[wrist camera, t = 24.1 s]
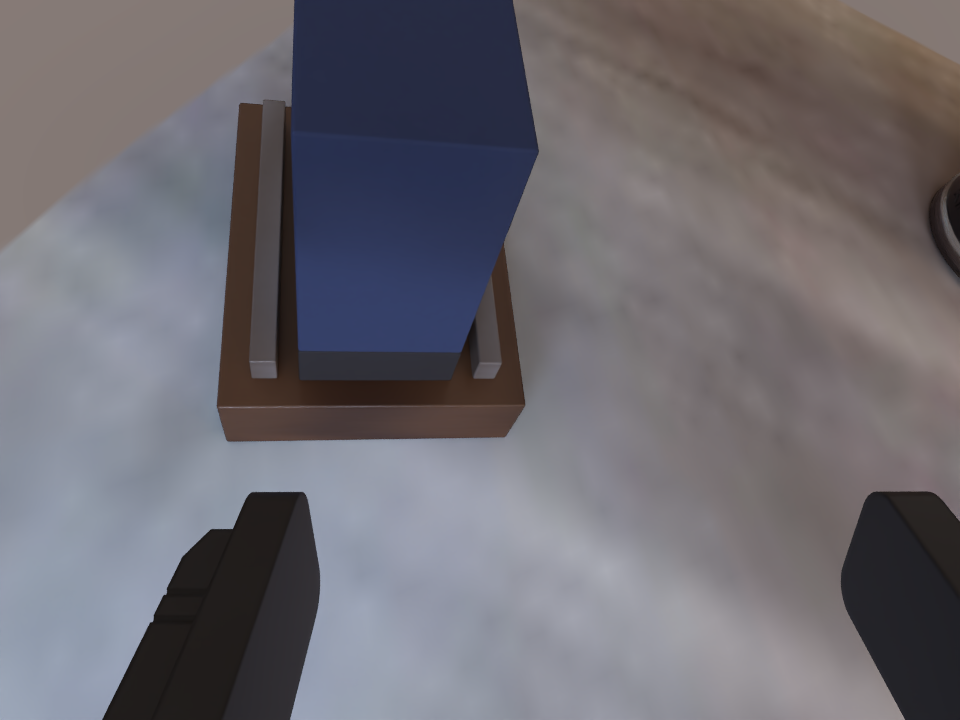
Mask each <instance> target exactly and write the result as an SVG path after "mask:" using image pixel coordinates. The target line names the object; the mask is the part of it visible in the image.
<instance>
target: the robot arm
mask: <svg viewBox="0 0 960 720" xmlns="http://www.w3.org/2000/svg"><path fill="white" fill-rule="evenodd" d="M930 224H931V228H932V232H933V235H934V238H935V241H936V243H937V246H938V247H939V249H940V251H941V253H942V255H943V257H944V258H945V260H946V261H947V263H948V264H949V265H950V267H951V268H952V269H953V271H954V272H955V273H956V274H957V276H958V277H959V278H960V173H958V174H957V175H956V176H954V177H953V178H952V179H951V180H950V181H949V182H948V183H946V184H945V185H944V186H943V187H942V188H941V189H940V190H939V191H938V192H937V193H936V195H935V196H934V198H933V200H932V204H931V208H930ZM841 590H842V596H843V600H844V604H845V607H846V610H847V612H848V614H849V616H850V618H851V620H852V622H853V624H854V625H855V627H856V629H857V631H858V633H859V635H860V637H861V638H862V640H863V642H864V644H865V646H866V648H867V650H868V651H869V653H870V655H871V657H872V659H873V661H874V663H875V664H876V666H877V668H878V670H879V672H880V674H881V676H882V677H883V679H884V681H885V683H886V685H887V687H888V689H889V690H890V692H891V694H892V696H893V698H894V700H895V702H896V703H897V705H898V707H899V709H900V711H901V713H902V715H903V716H904V718H905V720H960V521H959V520H958V519H957V518H956V516H955V515H954V514H953V513H952V512H951V510H950V509H949V508H948V507H947V505H946V504H945V503H944V502H943V501H942V500H941V498H940V497H938V496H937V495H936V494H934V493H932V492H873V493H871V494H870V495H869V496H868V497H867V498H866V500H865V502H864V505H863V508H862V511H861V514H860V517H859V520H858V523H857V526H856V529H855V532H854V535H853V538H852V541H851V544H850V547H849V549H848V552H847V555H846V558H845V561H844V564H843V568H842V573H841ZM319 594H320V570H319V563H318V557H317V551H316V545H315V539H314V534H313V528H312V522H311V516H310V510H309V504H308V500H307V497H306V495H305V493H303V492H252V493H250V494H249V495H248V496H247V498H246V500H245V502H244V504H243V507H242V509H241V511H240V514H239V516H238V518H237V521H236V523H235V525H234V528H233V529H211V530H210V531H209V532H208V533H207V534H206V535H204V536H203V537H202V538H201V539H200V540H199V541H198V542H197V543H196V544H195V545H194V546H193V547H192V548H191V549H190V550H189V551H188V552H187V553H186V554H185V555H184V556H183V557H182V559H181V561H180V563H179V565H178V567H177V569H176V571H175V573H174V575H173V577H172V579H171V581H170V583H169V585H168V587H167V594H166V595H164V596H163V598H162V600H161V602H160V604H159V606H158V608H157V610H156V612H155V614H154V620H153V622H150V624H149V626H148V628H147V630H146V632H145V634H144V636H143V638H142V640H141V642H140V644H139V646H138V648H137V650H136V652H135V654H134V656H133V658H132V660H131V662H130V664H129V666H128V669H127V671H126V673H125V675H124V677H123V679H122V681H121V683H120V685H119V687H118V689H117V691H116V693H115V695H114V697H113V699H112V701H111V703H110V705H109V707H108V709H107V711H106V713H105V715H104V717H103V719H102V720H290V717H291V713H292V709H293V705H294V701H295V697H296V693H297V689H298V686H299V682H300V678H301V674H302V670H303V666H304V662H305V658H306V654H307V650H308V646H309V642H310V638H311V634H312V630H313V626H314V622H315V618H316V614H317V609H318V603H319Z"/></svg>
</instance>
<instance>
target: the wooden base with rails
mask: <svg viewBox="0 0 960 720" xmlns="http://www.w3.org/2000/svg"><path fill="white" fill-rule="evenodd" d="M524 407H525V399H524V391H523V384H522V376H521V369H520V361H519V354H518V346H517V339H516V331H515V324H514V316H513V309H512V301H511V294H510V286H509V279H508V271H507V264H506V256H505V249H504V243H503V246H502V248H501V251H500V253H499V256H498V258H497V261H496V264H495V266H494V269H493V271H492V274H491V277H490V279H489V282H488V284H487V287H486V290H485V292H484V295H483V297H482V300H481V302H480V305H479V308H478V310H477V313H476V315H475V318H474V321H473V323H472V326H471V328H470V331H469V333H468V336H467V339H466V341H465V344H464V346H463V349H462V352H461V355H460V358H459V360H458V363H457V365H456V368H455V371H454V373H453V376H452V378H451V380H300V379H299V363H298V332H297V303H296V273H295V244H294V214H293V185H292V155H291V107H285V102H284V101H274V100H263V105H260V104H248V103H240V105H239V116H238V130H237V143H236V156H235V170H234V183H233V197H232V210H231V223H230V237H229V250H228V264H227V277H226V290H225V304H224V317H223V331H222V344H221V357H220V371H219V384H218V398H217V409H218V412H219V416H220V419H221V423H222V426H223V430H224V433H225V437H226V440H227V441H293V440H357V439H421V438H484V437H505V436H506V435H507V433H508V432H509V430H510V429H511V427H512V426H513V424H514V423H515V421H516V419H517V418H518V416H519V415H520V413H521V412H522V410H523V408H524Z"/></svg>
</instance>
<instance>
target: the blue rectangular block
mask: <svg viewBox="0 0 960 720" xmlns="http://www.w3.org/2000/svg"><path fill="white" fill-rule="evenodd" d="M294 1H295V3H294V35H293V70H292V106H291V155H292V185H293V214H294V244H295V273H296V303H297V332H298V363H299V379H300V380H451V378H452V376H453V373H454V371H455V368H456V365H457V363H458V360H459V358H460V355H461V352H462V349H463V346H464V344H465V341H466V339H467V336H468V333H469V331H470V328H471V326H472V323H473V321H474V318H475V315H476V313H477V310H478V308H479V305H480V302H481V300H482V297H483V295H484V292H485V290H486V287H487V284H488V282H489V279H490V277H491V274H492V271H493V269H494V266H495V264H496V261H497V258H498V256H499V253H500V251H501V248H502V246H503V243H504V240H505V238H506V235H507V233H508V230H509V227H510V225H511V222H512V220H513V217H514V214H515V212H516V209H517V207H518V204H519V202H520V199H521V196H522V194H523V191H524V189H525V186H526V183H527V181H528V178H529V176H530V173H531V171H532V168H533V165H534V163H535V160H536V158H537V155H538V152H539V150H538V144H537V138H536V132H535V127H534V121H533V115H532V109H531V104H530V98H529V92H528V86H527V81H526V75H525V69H524V63H523V58H522V52H521V46H520V40H519V35H518V29H517V23H516V17H515V12H514V6H513V0H294Z"/></svg>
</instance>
